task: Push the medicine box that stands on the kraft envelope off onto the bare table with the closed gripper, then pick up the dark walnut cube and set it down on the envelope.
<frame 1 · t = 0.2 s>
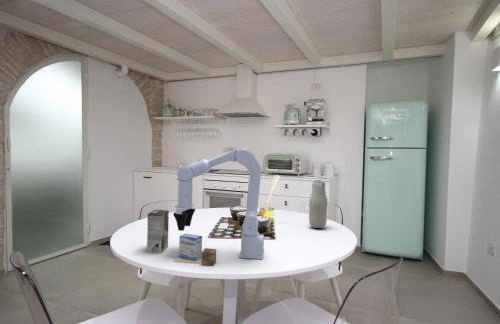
hand: (184, 228, 125), 10 cm above the table, tool pointing down, fingers open, 7 cm apart
walnut cube: (208, 263, 114), on the table
coffee box: (157, 250, 128), on the table
grey bottle: (317, 228, 175), on the table
kraft envelope: (190, 258, 119), on the table
medicine box: (190, 257, 119), resting on kraft envelope
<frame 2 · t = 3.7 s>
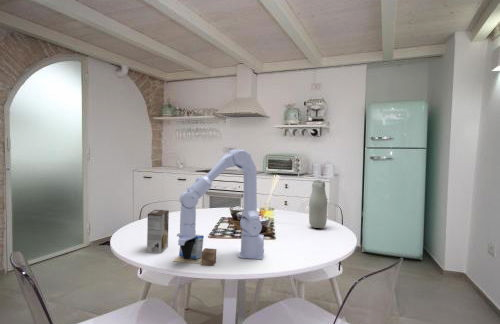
hand: (186, 258, 115), 1 cm above the table, tool pointing down, fingers closed
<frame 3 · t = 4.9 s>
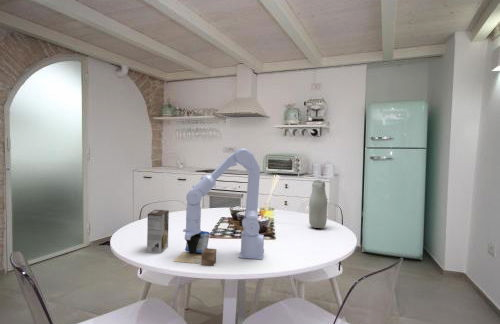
hand: (192, 252, 121), 1 cm above the table, tool pointing down, fingers closed
medicine box: (195, 252, 124), on the table, touching gripper
everything else where it was.
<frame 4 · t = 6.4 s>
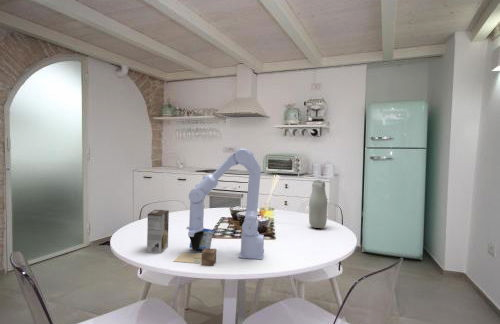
hand: (195, 249, 126), 1 cm above the table, tool pointing down, fingers closed
medicine box: (199, 249, 128), on the table, touching gripper
everything else where it was.
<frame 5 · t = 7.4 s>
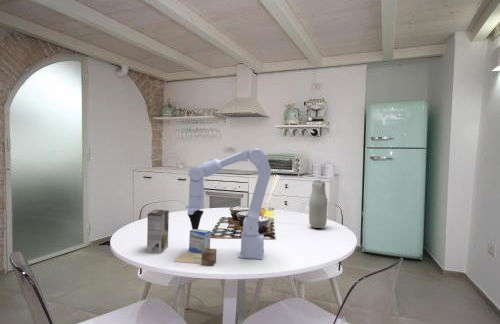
hand: (195, 228, 123), 10 cm above the table, tool pointing down, fingers closed
medicine box: (199, 251, 128), on the table
everything else where it was.
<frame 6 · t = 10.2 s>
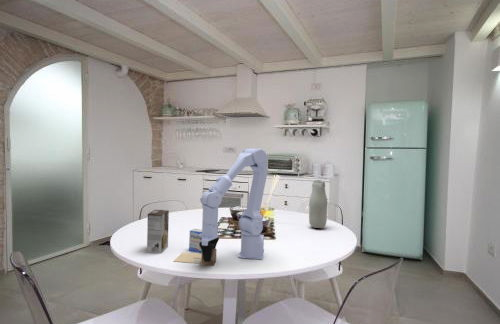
hand: (208, 259, 114), 2 cm above the table, tool pointing down, fingers closed on walnut cube, 4 cm apart
walnut cube: (208, 263, 114), on the table, touching gripper
everything else where it was.
when the fingers open (3 cm above the table, at t = 13.5 s): walnut cube stays where it is, resting on kraft envelope.
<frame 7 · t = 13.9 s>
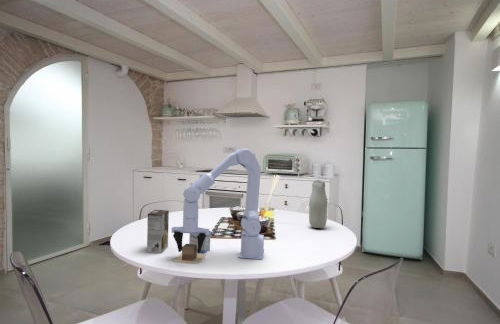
hand: (189, 251, 118), 3 cm above the table, tool pointing down, fingers open, 7 cm apart
walnut cube: (189, 258, 118), resting on kraft envelope
everything else where it was.
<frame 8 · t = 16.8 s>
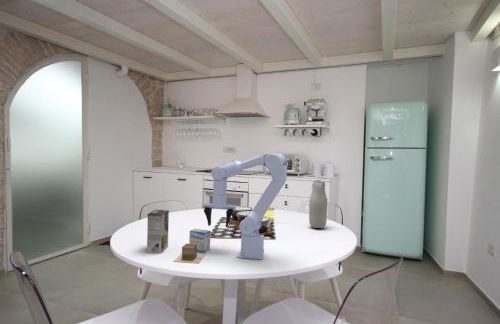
hand: (218, 225, 130), 10 cm above the table, tool pointing down, fingers open, 7 cm apart
nothing on the table moved.
at the end: walnut cube inside the target area on the kraft envelope (0.9 cm from its centre), point 0.2 cm above the kraft envelope's base; walnut cube tilted 1°; medicine box touching table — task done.
